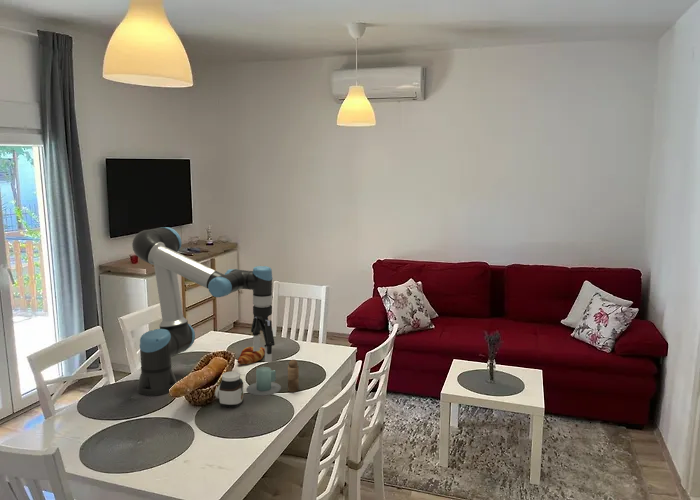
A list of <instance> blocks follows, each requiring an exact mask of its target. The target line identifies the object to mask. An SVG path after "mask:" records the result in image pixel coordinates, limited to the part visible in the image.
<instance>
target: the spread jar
mask: <svg viewBox="0 0 700 500" xmlns="http://www.w3.org/2000/svg"><path fill="white" fill-rule="evenodd" d="M214 396H215V398H217V399H219V403H220V405H221V406H223V407H224V408H236V407H238V406H239V407H240V406H241V404H242V403H243V400H244V381H243V379H242V378H241V373H240V372H239V371H226V372H223V373H222V374H221V382H220V383H219V385H218V386H217V387H216V389H215V392H214Z"/></svg>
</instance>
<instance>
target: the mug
mask: <svg viewBox="0 0 700 500" xmlns="http://www.w3.org/2000/svg"><path fill="white" fill-rule="evenodd" d="M255 370H256V371H255V373H256V374H255V375H256V379H255V380H256V382H255V383H256V388H257V390H258V391H268V390H270V389H271V382H276V380H277V377H276V375H277V374H276V370H275V369H273V370H272V369H271V367H268V366H260V367H258V368H256V369H255Z"/></svg>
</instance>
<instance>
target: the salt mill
mask: <svg viewBox="0 0 700 500" xmlns="http://www.w3.org/2000/svg"><path fill="white" fill-rule="evenodd" d="M299 370H300V369H299V365H298V361H297V360H296V359H291V360H289V362H288V365H287V391H288V392H289V393H296V392H299V387H300V386H299V380H300V379H299V376H300V375H299V374H300V372H299Z"/></svg>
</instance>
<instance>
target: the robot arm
mask: <svg viewBox="0 0 700 500" xmlns="http://www.w3.org/2000/svg"><path fill="white" fill-rule="evenodd" d="M131 246H132V251H133V252H134V254H135V256H136V257H138V258H139V259H140V260H142V261H144V262H146V263H148V264H150V265H153V267H154V273H155V274H154V275H155V280H156V286H157V287H156V288H157V293H158V299H159V305H160V306H159V307H160V314H161V320H162V321H161V322H160V323H159V328H157V329H156V328H155V329H154V330H148V331H146V332H144V333H143V334H142V335H141V336H140V339H139V351H140V354H139V355H140V366H141V368H140V371H141V373H140V375H139V380H138V382H137V393H139V394H140V395H142V396H153V397H154V396H160V395H166V394H169V393H170V392H169V389H170V388H171V387H172V386H173V385H174V384H175V383H176V382H177V383H178V381H177V378H176V376H175V373H174V371H173V368H172V358H174V357H176V356H177V355H179V354H181V353H184V352H187V350H188V349H190V348H191V347H192V346H193V345H194V343H195V339H196V334H195V333H196V332H195V330H194V327H192V325H191V324H189V322H188V319H187V318H185V317H184V313H183V306H182V301H181V299H182V298H181V292H180V285H179V284H180V283H179V279H178V275H179V276H180V277H183V278H184V279H187V280H189V281H191V282H194V283H195V284H198V285H199V286H202V287H204V288H206V289H208V292H209V293H210V295H211V296H213V297H215V298H223V297H227V296H228V295H230V294H232V293H235V292H236V291H239V290H243V289H244V290H251V291H252V305H253V306H252V315H253V320H252V323H251V330H250V333H252V339H253V340H252V341H253V342H252V347H253V351H260V347H261V332H262V335H263V339H264V342H265V344H264V345H263V346H264V348H265V355H264V362H265V363H269V362H272V361H273V346H275V345H276V343H275V338H274V332H273V327H272V326H273V324H272V323H273V322H272V320H271V319H270V320H269V316H271V315H272V314H273V306H272V304H273V298H274V296H273V270H272V268H271V267H270V266H266V265H263V266H262V265H257V266H254V267H253V268H252V270H244V269H238V268H231V269H230V268H229V269H227V270H226V272H224V273H221V272H219V271H217V270H215V269H213V268H210V267H209V266H207V265H205V264H203V263H200V262H198V261H197V260H195V259H192V258H190V257H188V256H186V255H184V254H181V253H179V251H180V249H181V247H182V238H181V236H180V234H179V233H178V232H177V231H176V230H175V229H174V228H172V227H166V226H165V227H164V226H163V227H156V228H151V229H144V230H141V231H139V232H138V233H137V234H136V235H135V236H134V238H133V240H132V244H131Z"/></svg>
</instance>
